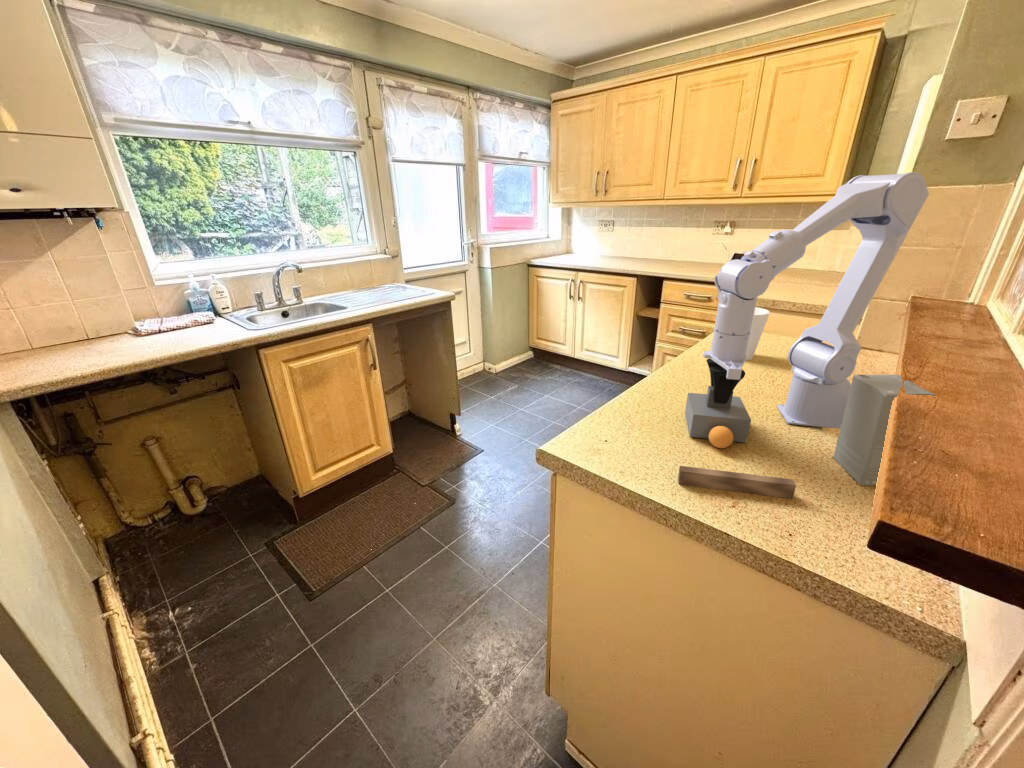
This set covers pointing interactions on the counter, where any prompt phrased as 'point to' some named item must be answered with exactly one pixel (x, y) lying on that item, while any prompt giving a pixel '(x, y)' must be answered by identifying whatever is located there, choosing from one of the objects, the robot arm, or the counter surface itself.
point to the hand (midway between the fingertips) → (718, 399)
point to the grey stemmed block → (716, 415)
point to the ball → (720, 437)
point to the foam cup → (756, 330)
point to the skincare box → (868, 423)
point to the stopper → (737, 482)
